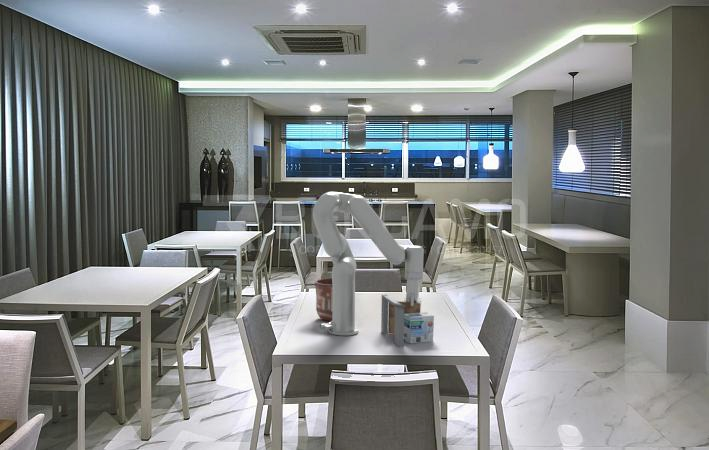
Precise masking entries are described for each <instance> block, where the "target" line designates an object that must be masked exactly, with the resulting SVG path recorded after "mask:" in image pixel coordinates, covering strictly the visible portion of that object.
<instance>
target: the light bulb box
mask: <svg viewBox="0 0 709 450" xmlns="http://www.w3.org/2000/svg"><path fill="white" fill-rule="evenodd" d="M434 319H435V316H434V315H433V314H432V313H429V312H427V311H425V312H424V311H423V312H422V311H421V312H420V313H410V314H404V340H405V341H406V342H407V343H409V344H417V343H419V344H420V343H431V342H434V328H435V327H434V324H435V323H434V322H435V320H434Z"/></svg>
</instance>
